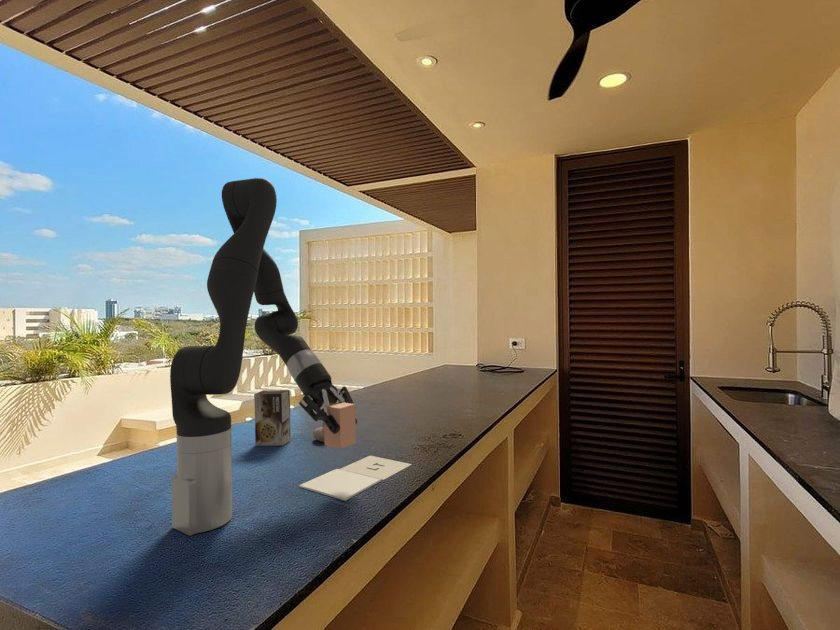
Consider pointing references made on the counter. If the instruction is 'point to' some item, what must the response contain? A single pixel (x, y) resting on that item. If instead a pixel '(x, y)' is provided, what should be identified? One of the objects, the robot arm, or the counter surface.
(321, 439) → the garlic bulb
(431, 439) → the counter surface
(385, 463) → the cream tile
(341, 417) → the block
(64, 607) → the counter surface
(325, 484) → the beige board
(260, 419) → the coffee box
